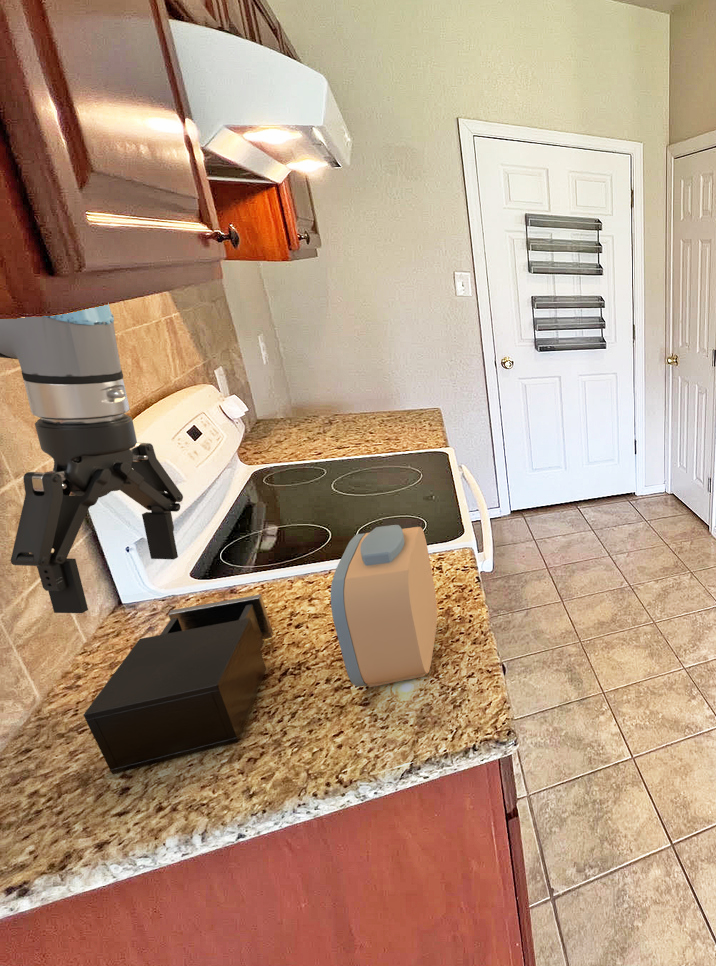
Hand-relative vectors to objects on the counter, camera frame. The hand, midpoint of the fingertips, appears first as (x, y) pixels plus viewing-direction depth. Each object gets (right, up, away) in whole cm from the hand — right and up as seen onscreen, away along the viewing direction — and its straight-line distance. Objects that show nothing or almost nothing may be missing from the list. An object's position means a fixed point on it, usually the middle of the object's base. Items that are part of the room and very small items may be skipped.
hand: (122, 582), depth 71 cm
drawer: (-3, -16, +18) cm, 24 cm away
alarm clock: (+23, -16, +21) cm, 35 cm away
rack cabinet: (+1, -20, +9) cm, 22 cm away
